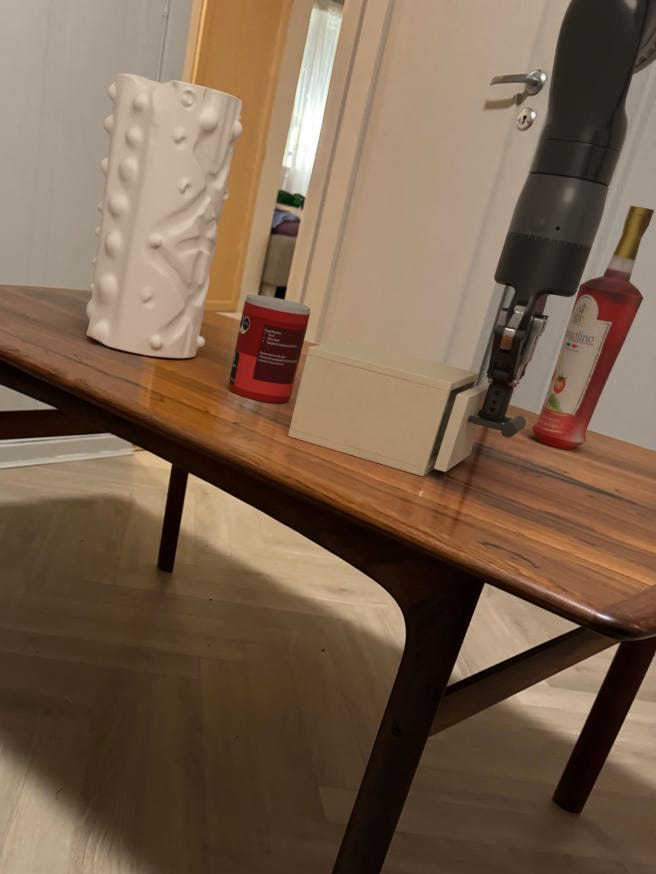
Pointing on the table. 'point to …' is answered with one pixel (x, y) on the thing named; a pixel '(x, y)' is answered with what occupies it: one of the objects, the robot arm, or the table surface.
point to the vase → (160, 213)
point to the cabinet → (375, 403)
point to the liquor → (593, 341)
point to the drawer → (467, 426)
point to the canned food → (268, 348)
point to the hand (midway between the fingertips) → (489, 423)
